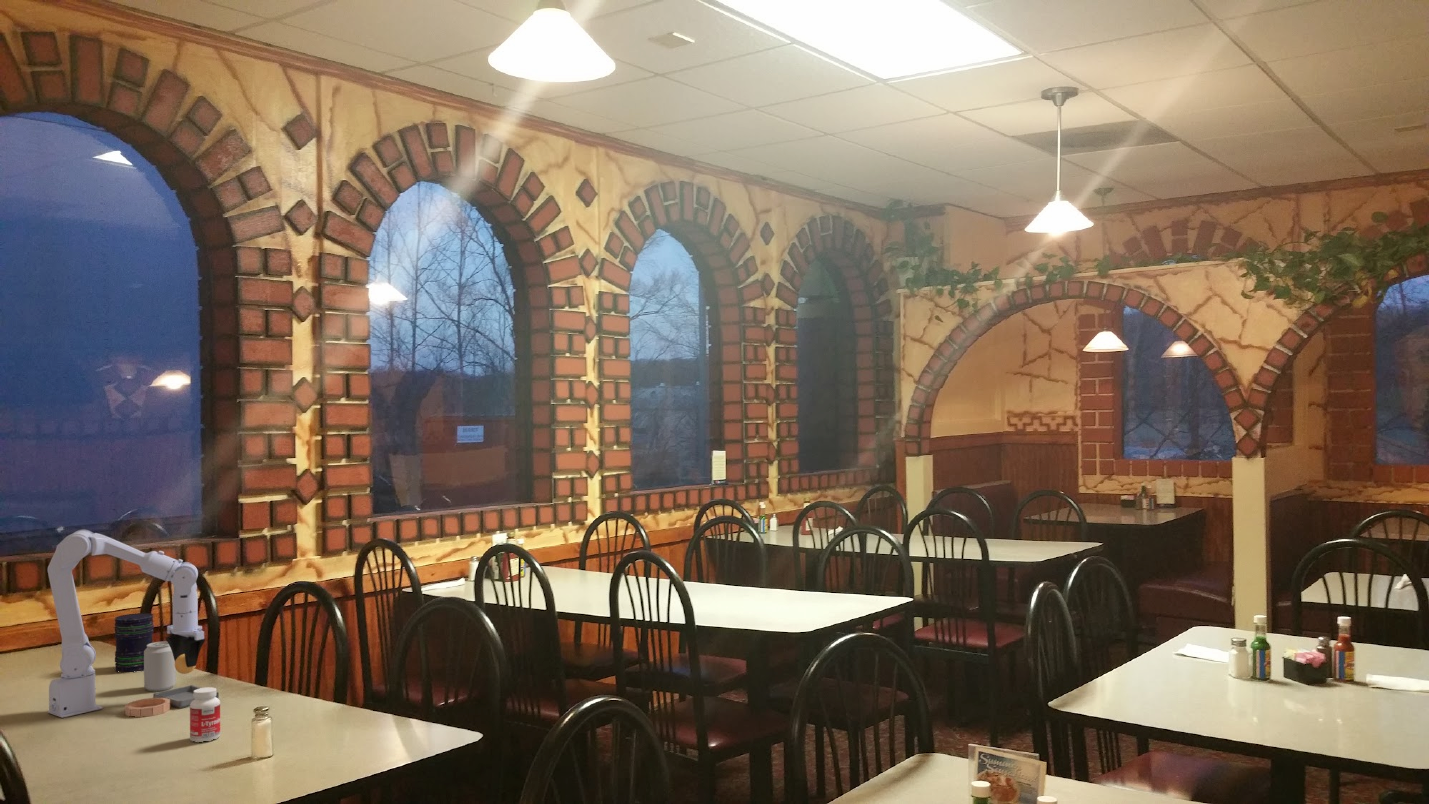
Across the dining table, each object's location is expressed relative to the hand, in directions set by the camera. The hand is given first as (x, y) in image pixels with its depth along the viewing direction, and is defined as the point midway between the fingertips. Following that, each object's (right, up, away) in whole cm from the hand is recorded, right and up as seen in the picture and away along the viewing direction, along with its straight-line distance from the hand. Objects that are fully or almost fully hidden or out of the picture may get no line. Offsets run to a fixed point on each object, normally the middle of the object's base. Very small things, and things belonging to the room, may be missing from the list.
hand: (185, 664), depth 273 cm
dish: (-5, -9, -10) cm, 14 cm away
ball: (0, 0, 0) cm, 0 cm away
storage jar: (-31, -10, +33) cm, 47 cm away
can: (-13, -9, +12) cm, 19 cm away
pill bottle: (+20, -9, -32) cm, 39 cm away
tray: (0, -9, 0) cm, 9 cm away
